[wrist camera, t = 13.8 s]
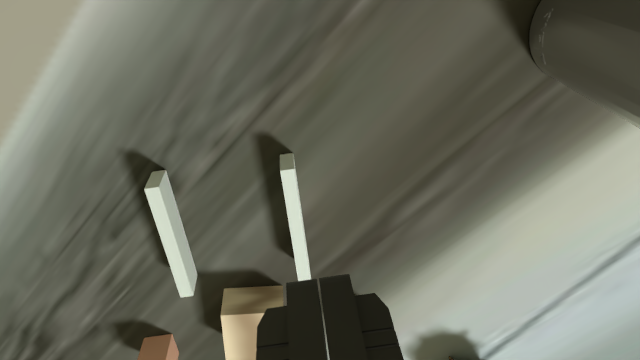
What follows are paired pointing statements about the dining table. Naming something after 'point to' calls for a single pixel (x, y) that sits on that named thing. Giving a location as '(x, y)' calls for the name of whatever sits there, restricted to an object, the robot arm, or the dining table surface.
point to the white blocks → (176, 239)
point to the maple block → (245, 318)
